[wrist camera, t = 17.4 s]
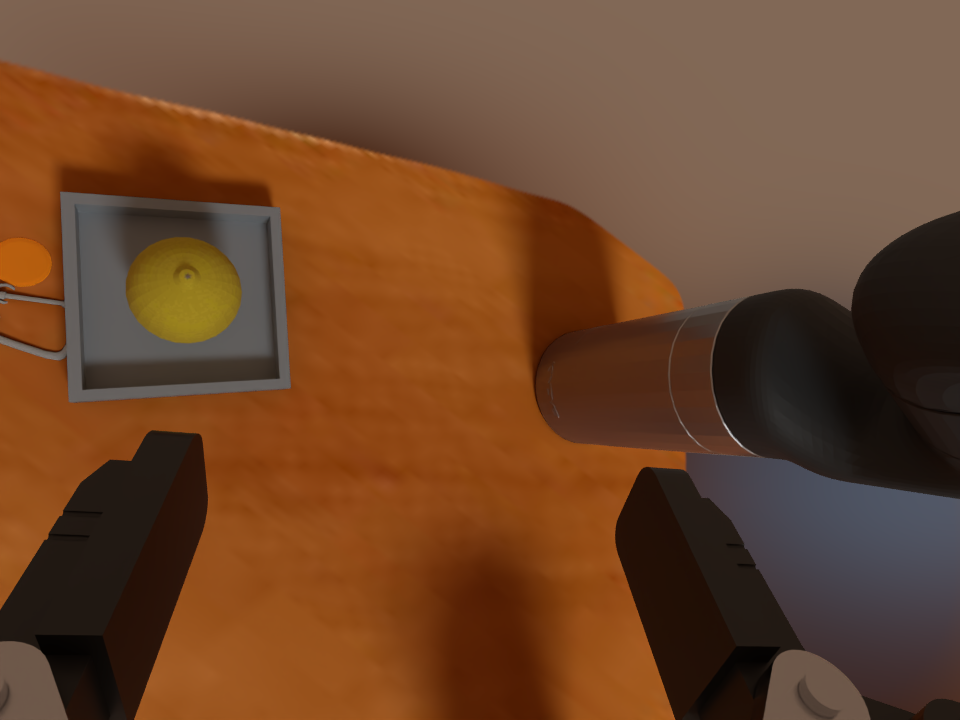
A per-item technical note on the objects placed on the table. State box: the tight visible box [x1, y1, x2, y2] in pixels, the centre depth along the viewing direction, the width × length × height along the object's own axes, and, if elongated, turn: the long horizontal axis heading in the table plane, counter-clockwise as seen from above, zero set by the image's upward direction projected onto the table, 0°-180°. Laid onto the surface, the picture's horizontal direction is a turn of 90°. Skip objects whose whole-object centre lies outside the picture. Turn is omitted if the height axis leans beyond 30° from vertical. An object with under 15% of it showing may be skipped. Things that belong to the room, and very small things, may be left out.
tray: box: [60, 192, 291, 403], centre depth 34 cm, size 11×11×2 cm
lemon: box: [126, 237, 242, 343], centre depth 31 cm, size 6×6×8 cm
